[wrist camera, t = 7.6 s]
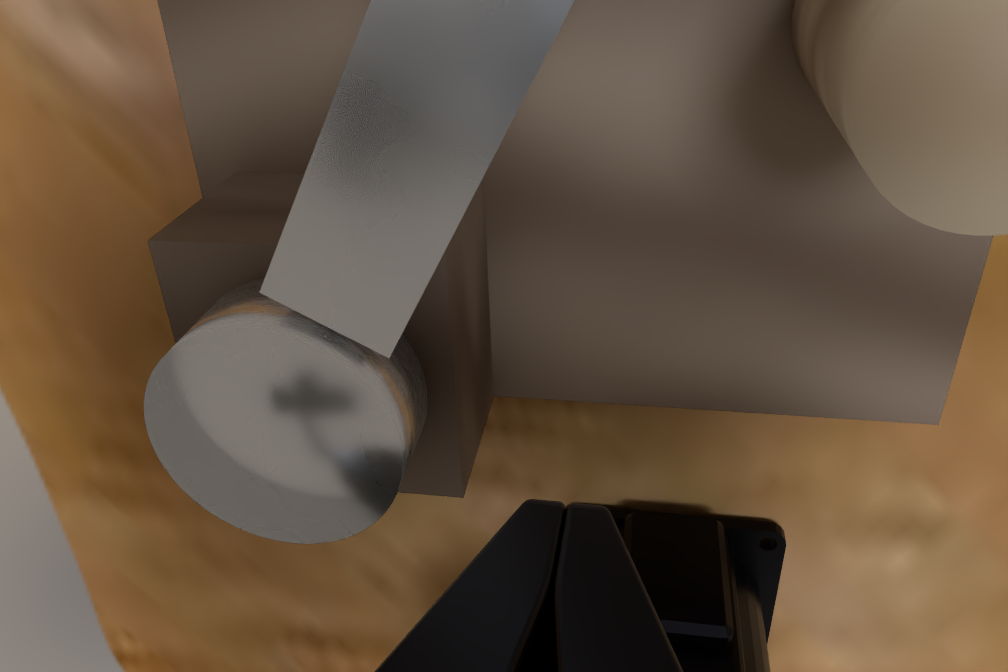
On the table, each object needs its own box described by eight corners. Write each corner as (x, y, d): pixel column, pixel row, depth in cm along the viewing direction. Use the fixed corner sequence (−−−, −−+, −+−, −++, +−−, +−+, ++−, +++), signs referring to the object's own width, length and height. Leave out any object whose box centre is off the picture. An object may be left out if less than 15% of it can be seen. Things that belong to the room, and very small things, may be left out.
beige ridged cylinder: (987, 117, 16) (1134, 240, 11) (778, 115, 17) (829, 230, 12) (1047, -111, 14) (1261, -87, 9) (808, -105, 15) (885, -78, 10)
